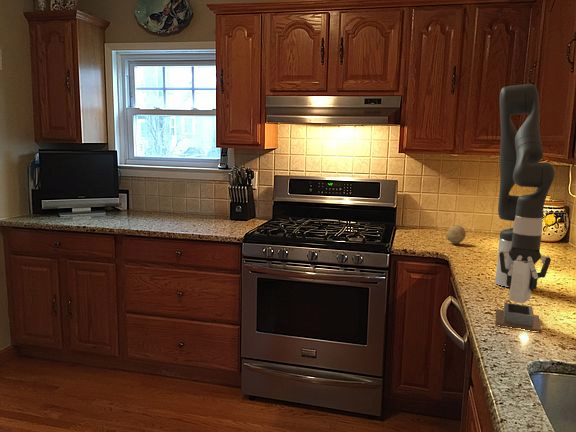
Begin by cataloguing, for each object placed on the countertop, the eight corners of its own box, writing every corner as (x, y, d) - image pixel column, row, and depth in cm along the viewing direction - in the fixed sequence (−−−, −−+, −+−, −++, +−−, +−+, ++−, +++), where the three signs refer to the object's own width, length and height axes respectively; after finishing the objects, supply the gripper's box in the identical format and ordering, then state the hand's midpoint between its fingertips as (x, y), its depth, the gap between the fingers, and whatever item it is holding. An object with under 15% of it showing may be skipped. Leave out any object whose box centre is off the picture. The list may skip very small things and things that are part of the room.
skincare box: (515, 296, 155) (519, 256, 153) (531, 299, 152) (535, 259, 150) (508, 300, 150) (512, 260, 149) (524, 304, 147) (528, 263, 146)
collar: (495, 312, 160) (496, 299, 160) (538, 318, 156) (539, 305, 155) (495, 325, 148) (496, 312, 148) (541, 333, 144) (542, 319, 143)
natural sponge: (466, 247, 256) (468, 227, 254) (447, 245, 257) (449, 226, 256) (463, 243, 265) (464, 224, 263) (445, 242, 266) (446, 223, 265)
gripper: (500, 231, 147) (494, 288, 150) (556, 236, 142) (549, 296, 145) (500, 227, 154) (494, 282, 157) (553, 232, 149) (547, 289, 151)
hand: (520, 288), depth 151 cm, fingers closed on skincare box, 5 cm apart
